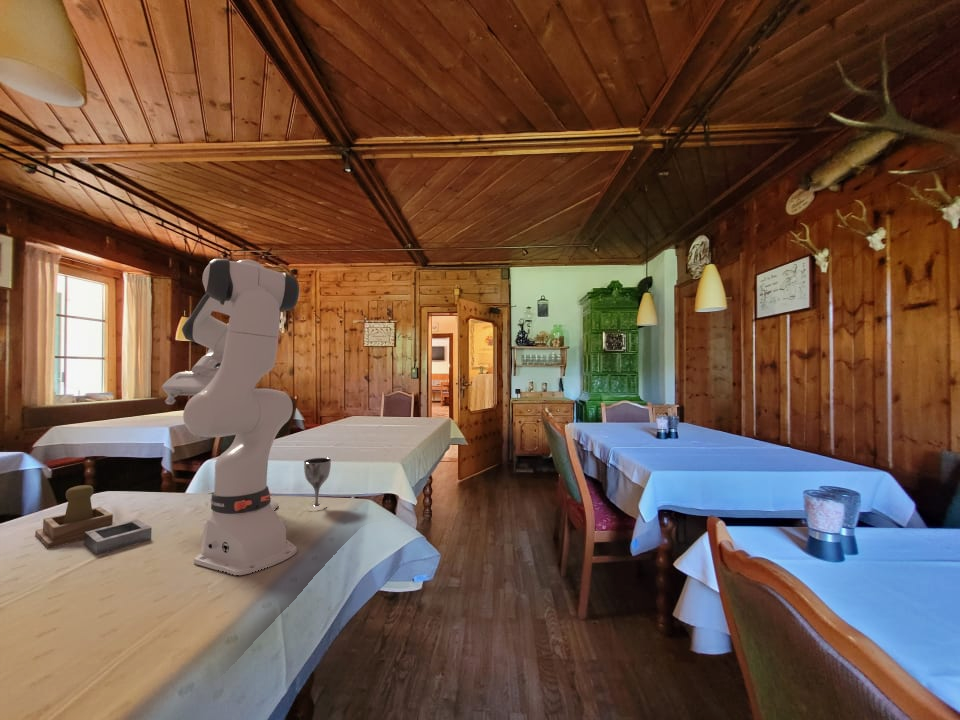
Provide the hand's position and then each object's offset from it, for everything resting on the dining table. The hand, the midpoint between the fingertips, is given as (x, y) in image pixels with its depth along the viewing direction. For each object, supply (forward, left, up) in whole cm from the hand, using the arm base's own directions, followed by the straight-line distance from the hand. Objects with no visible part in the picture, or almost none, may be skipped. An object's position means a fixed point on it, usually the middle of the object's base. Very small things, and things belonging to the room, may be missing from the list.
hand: (182, 403), depth 118 cm
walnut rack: (+5, +20, -33) cm, 39 cm away
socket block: (-11, +16, -33) cm, 39 cm away
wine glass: (-30, -27, -34) cm, 52 cm away
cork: (+5, +20, -32) cm, 39 cm away
